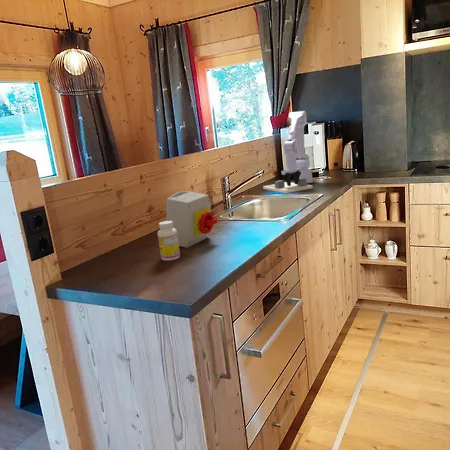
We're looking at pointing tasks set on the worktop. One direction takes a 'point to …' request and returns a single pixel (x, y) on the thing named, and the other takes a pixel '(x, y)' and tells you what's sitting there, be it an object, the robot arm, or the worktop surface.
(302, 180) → the slider
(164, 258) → the supplement bottle
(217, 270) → the worktop surface
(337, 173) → the worktop surface
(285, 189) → the panel
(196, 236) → the electrical switch box
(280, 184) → the slider
